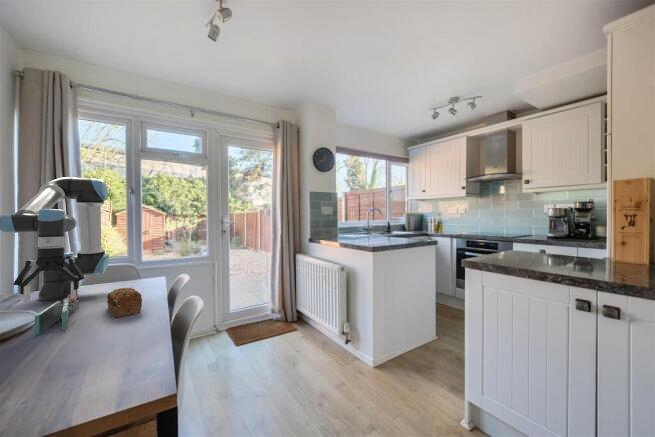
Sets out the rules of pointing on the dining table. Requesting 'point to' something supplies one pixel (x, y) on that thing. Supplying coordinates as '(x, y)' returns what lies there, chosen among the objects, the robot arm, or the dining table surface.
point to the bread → (124, 302)
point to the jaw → (65, 312)
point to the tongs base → (52, 316)
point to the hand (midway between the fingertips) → (50, 300)
